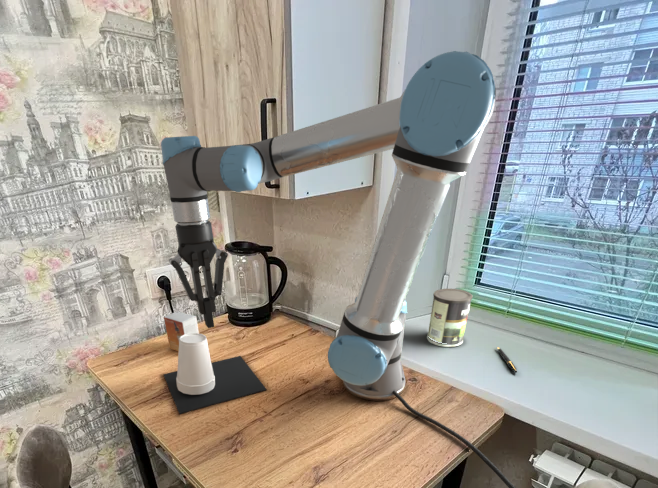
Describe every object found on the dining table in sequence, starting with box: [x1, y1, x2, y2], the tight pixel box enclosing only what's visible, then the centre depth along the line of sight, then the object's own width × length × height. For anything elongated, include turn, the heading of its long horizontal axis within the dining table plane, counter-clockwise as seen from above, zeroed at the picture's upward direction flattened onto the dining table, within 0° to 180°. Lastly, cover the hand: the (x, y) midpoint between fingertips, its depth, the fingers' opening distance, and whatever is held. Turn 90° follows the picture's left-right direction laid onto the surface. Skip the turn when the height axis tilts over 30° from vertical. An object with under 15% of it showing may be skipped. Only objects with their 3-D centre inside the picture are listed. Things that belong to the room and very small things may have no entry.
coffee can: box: [426, 288, 473, 348], centre depth 120 cm, size 10×10×14 cm
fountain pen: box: [497, 346, 518, 374], centre depth 111 cm, size 14×1×2 cm, turn 175°
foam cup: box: [176, 332, 215, 395], centre depth 102 cm, size 10×9×13 cm
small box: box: [163, 310, 200, 353], centre depth 122 cm, size 8×6×10 cm
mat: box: [163, 355, 268, 415], centre depth 107 cm, size 20×22×1 cm
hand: (209, 325), depth 99 cm, fingers closed
